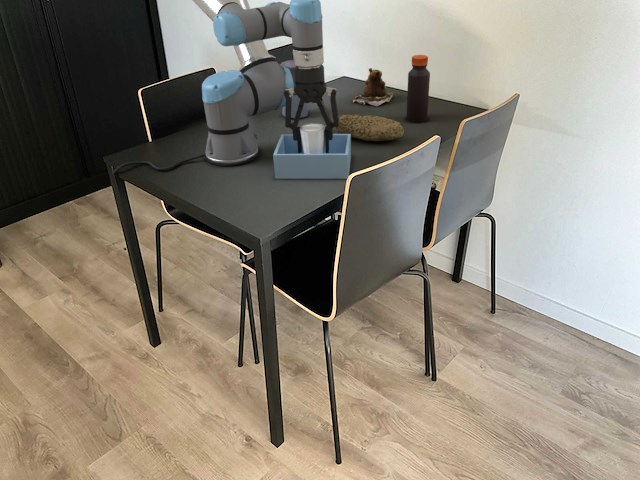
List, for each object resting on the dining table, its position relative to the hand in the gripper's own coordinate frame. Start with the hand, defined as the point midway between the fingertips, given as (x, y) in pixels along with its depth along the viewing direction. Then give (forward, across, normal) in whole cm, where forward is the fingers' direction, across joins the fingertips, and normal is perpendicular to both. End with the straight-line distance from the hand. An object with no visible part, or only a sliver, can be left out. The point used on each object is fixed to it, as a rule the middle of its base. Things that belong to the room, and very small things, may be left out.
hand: (313, 151), depth 150 cm
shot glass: (+1, 0, 0) cm, 1 cm away
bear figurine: (+5, +16, +58) cm, 60 cm away
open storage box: (+5, 0, 0) cm, 5 cm away
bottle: (+5, +30, +37) cm, 48 cm away
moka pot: (+5, -11, +42) cm, 44 cm away
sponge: (+5, +15, +21) cm, 26 cm away
